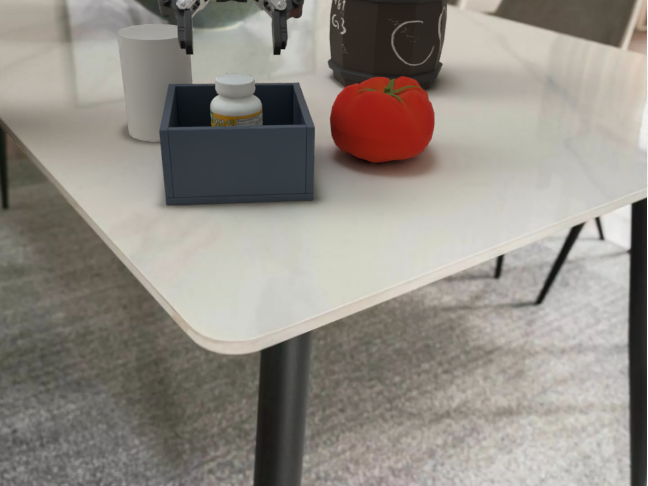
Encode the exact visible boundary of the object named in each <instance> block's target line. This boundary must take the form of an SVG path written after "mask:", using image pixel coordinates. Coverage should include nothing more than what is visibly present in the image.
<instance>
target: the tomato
mask: <svg viewBox="0 0 648 486" xmlns="http://www.w3.org/2000/svg"><path fill="white" fill-rule="evenodd" d="M428 93H429V92H427V91H426V90H423V89H422V88H421V87H420V85H419V84H418V82H417V81H416V80H414V79H411V78H408V77H404V76H401V77H399V78H397V79H392V80H390V79H389V78H385V77H374V78H370V79H368V80H366V81H364V82H361V83H360V84H358V83H357V84H353V85H349V86H346V87H345V86H344V87H343V89H342V90H341V91H340V92H339V93H338V94H337V95H336V96H335V99H334V102H333V103H332V105H331V110H330V116H329V125H330V136H331V139H332V140H333V144H334V145H335V146H336V147H337V148H338V149H339V150H340V151H342V152H344V153H347V154H348V155H352V156H354V157H355V158H358V159H361V160H365V161H367V162H369V163H372V164H376V163H378V164H379V163H385V162H391V161H405V160H409V159H412V158H414V157H416V156H418V155H420V154H421V153H423V152H424V151H425V150H426V148H427V147H428V146H429V145H430V142H431V141H432V139H433V135H434V131H435V126H436V124H435V123H436V121H435V109H434V107H433V104H432V102H431V100H430V98H429V94H428Z"/></svg>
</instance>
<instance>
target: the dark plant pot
mask: <svg viewBox="0 0 648 486" xmlns="http://www.w3.org/2000/svg"><path fill="white" fill-rule="evenodd" d="M447 19H448V0H331V6H330V14H329V35H328V36H329V37H328V39H329V51H330V52H329V53H330V58H329V59H328V60H327V65H328V68H329V69H330V70H332V74H333V78H334V79H335V80H336V81H338V82H339V84H341V85H342V86H344V88H345V87H346V86H349V85H353V84H357V83H358V84H360V83H361V82H364V81H366V80H368V79H370V78H374V77H385V78H389V79H390V80H392V79H397V78H399V77H401V76H404V77H408V78H411V79H414V80H416V81H417V82H418V84H419V85H420V87H421V88H422V89H423V90H424V91H426V90H429V89H430V87H431V86H432V84H433V82H434V81H435V80H437V77H438V76H439V74H440V72H441V70H442V67H443V65H444V64H443V62H441V61H440V60H441V57H442V56H441V55H442V51H443V47H444V44H445V39H446V38H445V36H446V29H447Z"/></svg>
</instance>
